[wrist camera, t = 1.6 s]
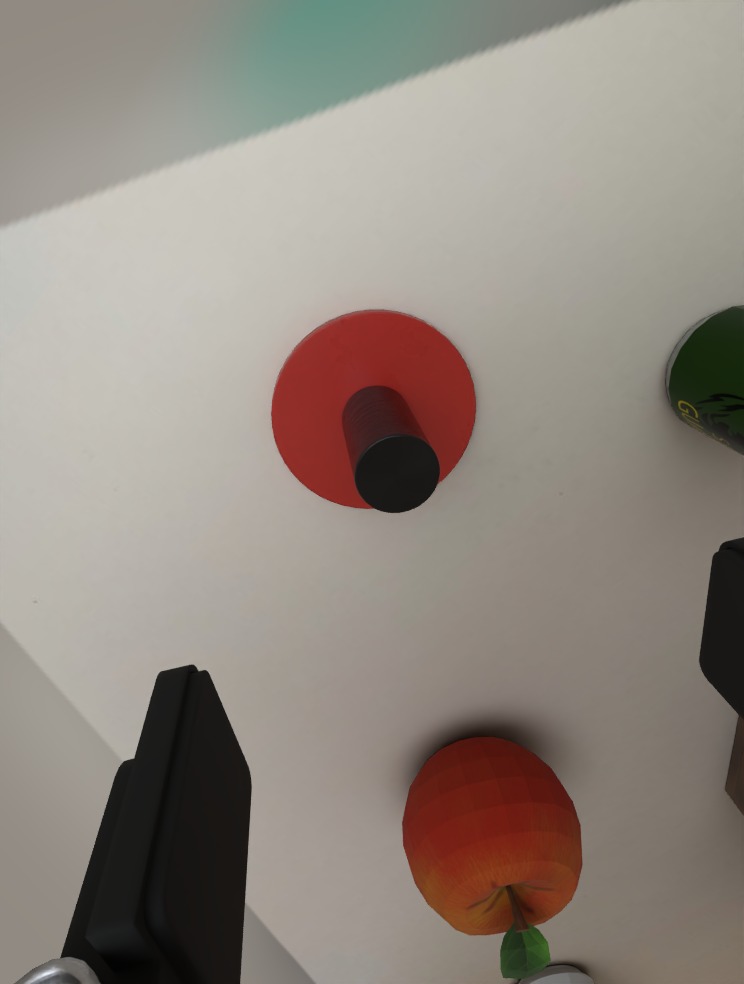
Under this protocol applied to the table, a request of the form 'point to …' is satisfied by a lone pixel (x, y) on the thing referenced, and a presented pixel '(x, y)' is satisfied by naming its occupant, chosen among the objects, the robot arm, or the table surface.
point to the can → (558, 976)
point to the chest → (737, 769)
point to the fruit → (494, 845)
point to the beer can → (711, 377)
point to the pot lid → (373, 410)
